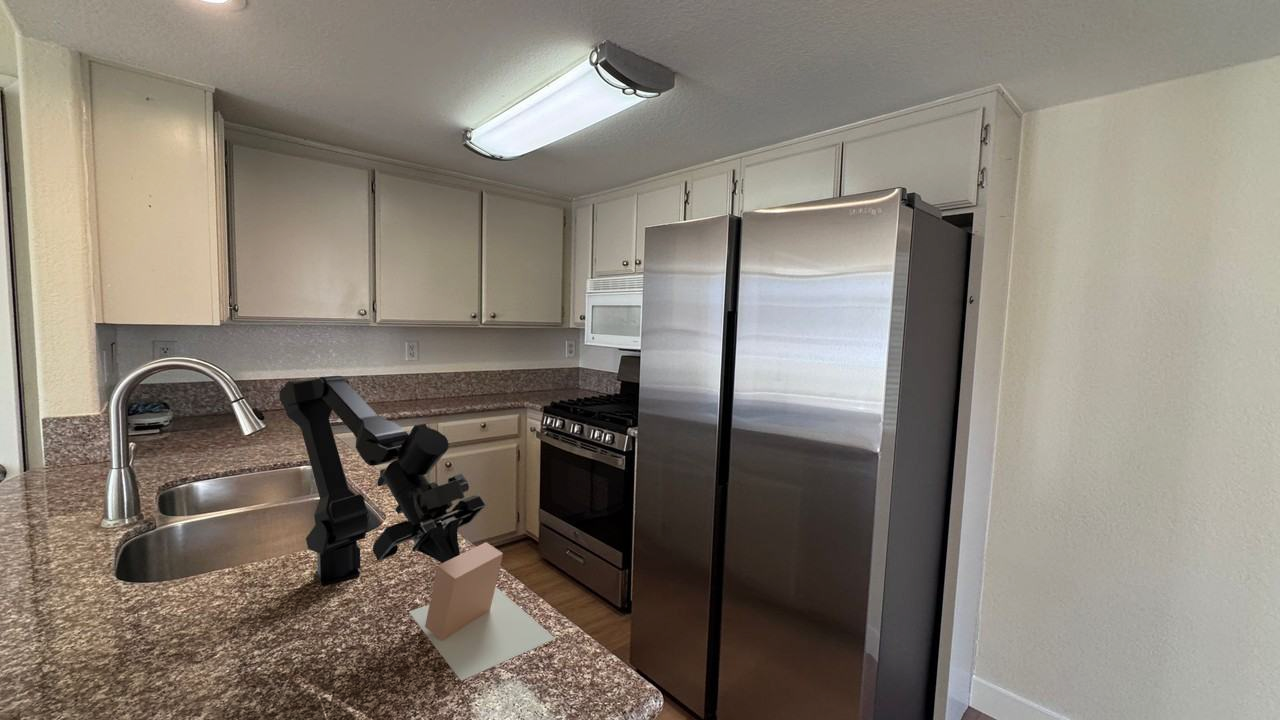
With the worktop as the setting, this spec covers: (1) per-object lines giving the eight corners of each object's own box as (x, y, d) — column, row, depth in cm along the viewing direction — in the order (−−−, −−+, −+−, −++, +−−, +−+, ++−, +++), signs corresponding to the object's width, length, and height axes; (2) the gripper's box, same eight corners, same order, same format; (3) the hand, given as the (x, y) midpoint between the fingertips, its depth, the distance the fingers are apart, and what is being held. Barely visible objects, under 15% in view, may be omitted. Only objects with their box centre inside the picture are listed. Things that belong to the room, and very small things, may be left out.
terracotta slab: (424, 626, 81) (437, 565, 79) (473, 597, 90) (486, 542, 88) (442, 641, 79) (455, 578, 77) (490, 610, 88) (503, 553, 86)
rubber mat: (461, 684, 71) (461, 680, 71) (408, 614, 87) (408, 611, 87) (555, 641, 81) (555, 638, 80) (492, 586, 97) (492, 583, 97)
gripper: (383, 476, 77) (435, 565, 73) (477, 450, 94) (524, 522, 89) (352, 518, 81) (399, 604, 77) (447, 486, 98) (491, 556, 93)
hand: (458, 568), depth 84 cm, fingers closed
